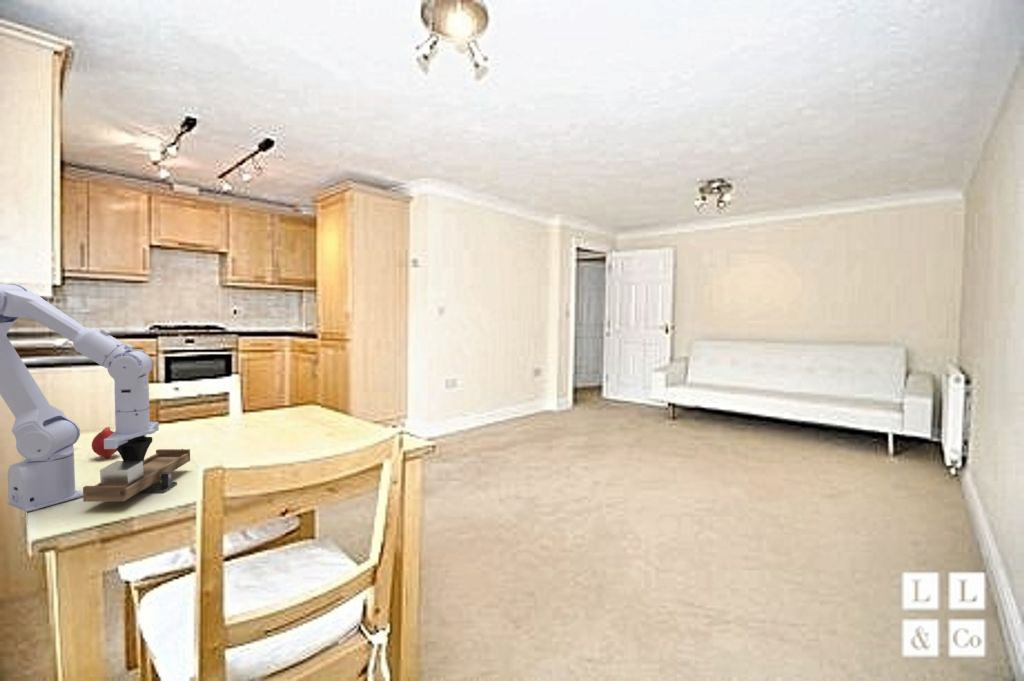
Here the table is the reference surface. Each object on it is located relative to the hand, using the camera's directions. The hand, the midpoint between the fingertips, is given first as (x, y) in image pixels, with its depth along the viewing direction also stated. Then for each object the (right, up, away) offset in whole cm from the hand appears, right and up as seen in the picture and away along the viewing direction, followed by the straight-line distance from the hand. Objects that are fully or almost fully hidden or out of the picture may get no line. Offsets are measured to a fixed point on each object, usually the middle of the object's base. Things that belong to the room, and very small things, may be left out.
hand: (134, 473), depth 106 cm
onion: (-24, -2, +23) cm, 33 cm away
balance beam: (0, -1, +3) cm, 3 cm away
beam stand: (0, -4, +3) cm, 5 cm away
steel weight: (0, -1, -3) cm, 4 cm away
